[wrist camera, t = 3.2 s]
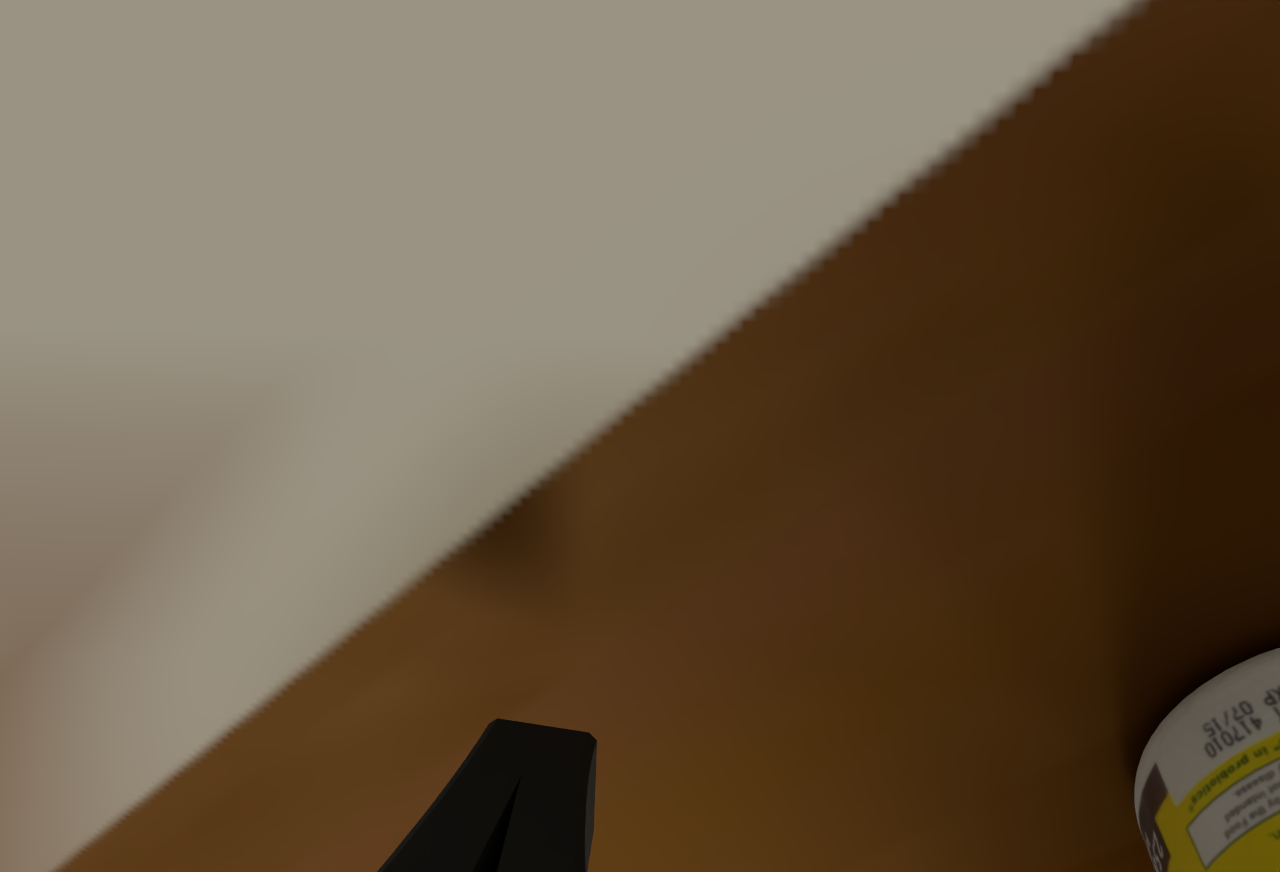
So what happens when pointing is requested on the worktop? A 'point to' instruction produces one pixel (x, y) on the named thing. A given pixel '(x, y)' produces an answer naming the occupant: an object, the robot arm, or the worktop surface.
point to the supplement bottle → (1216, 775)
